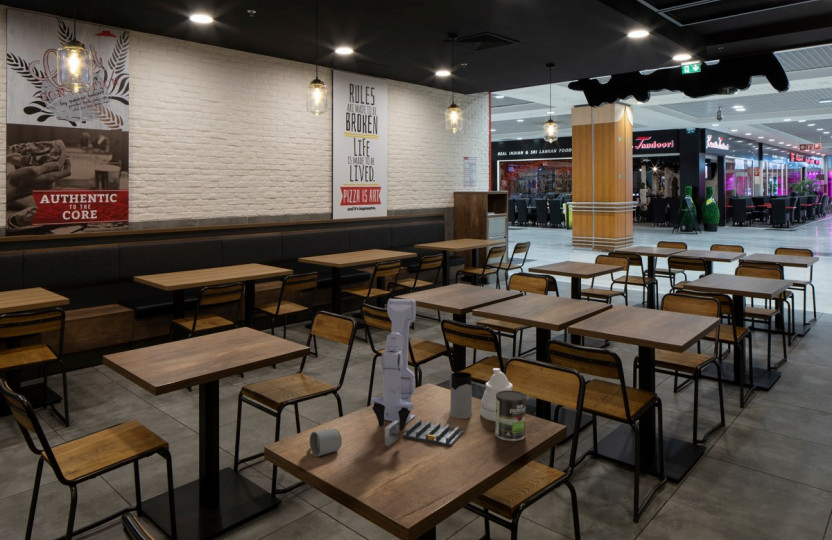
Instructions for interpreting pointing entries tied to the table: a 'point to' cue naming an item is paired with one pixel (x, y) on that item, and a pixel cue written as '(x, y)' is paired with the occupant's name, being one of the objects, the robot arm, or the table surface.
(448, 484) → the table surface
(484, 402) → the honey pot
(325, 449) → the ceramic mug
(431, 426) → the rack
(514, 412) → the coffee can
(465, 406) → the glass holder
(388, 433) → the panel
